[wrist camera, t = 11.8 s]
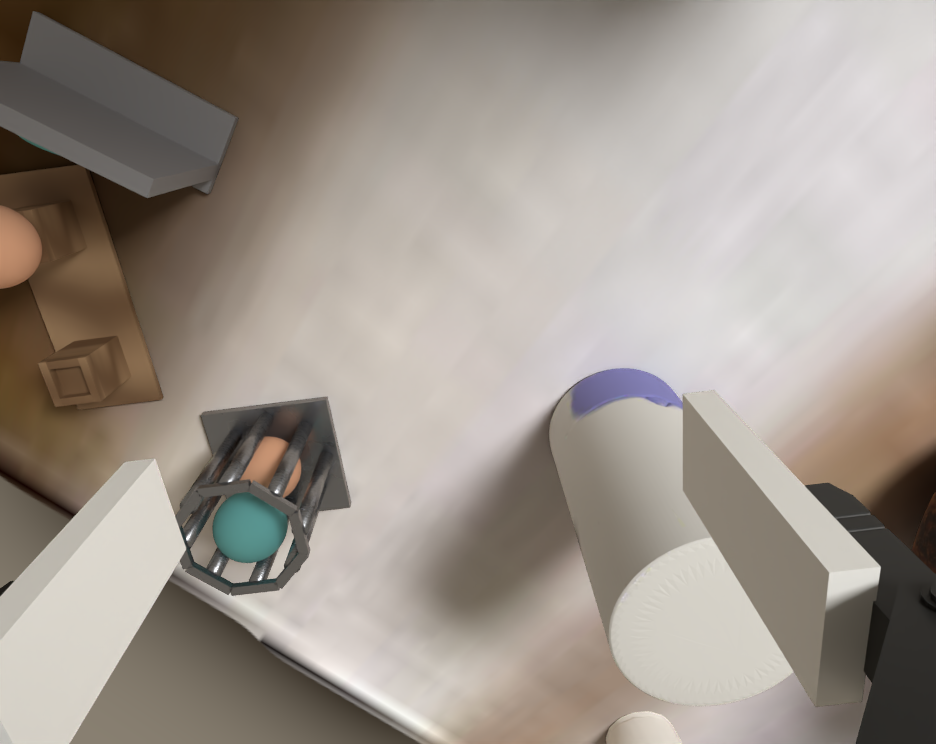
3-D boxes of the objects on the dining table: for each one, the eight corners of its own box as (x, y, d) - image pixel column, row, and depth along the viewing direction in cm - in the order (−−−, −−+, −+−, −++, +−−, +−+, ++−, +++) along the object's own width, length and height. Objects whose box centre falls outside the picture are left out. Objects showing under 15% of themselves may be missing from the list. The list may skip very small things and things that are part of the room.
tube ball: (242, 436, 48) (217, 445, 43) (304, 428, 48) (285, 437, 43) (250, 498, 48) (226, 514, 43) (312, 490, 48) (294, 505, 43)
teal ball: (199, 491, 40) (196, 567, 40) (270, 491, 40) (267, 568, 39) (235, 488, 45) (233, 556, 44) (299, 487, 44) (298, 557, 44)
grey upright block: (39, 12, 37) (-97, -21, 28) (238, 117, 40) (174, 120, 30) (17, 96, 39) (-119, 91, 30) (210, 192, 41) (140, 216, 32)
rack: (-8, 176, 41) (-62, 183, 36) (87, 163, 40) (44, 169, 36) (81, 407, 46) (43, 437, 42) (163, 397, 46) (134, 426, 42)
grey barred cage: (203, 411, 47) (143, 486, 38) (327, 396, 47) (296, 467, 37) (235, 516, 50) (187, 608, 41) (351, 503, 50) (328, 592, 41)
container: (533, 475, 50) (583, 694, 31) (569, 354, 46) (650, 520, 27) (657, 498, 51) (778, 723, 32) (702, 382, 47) (867, 559, 28)
